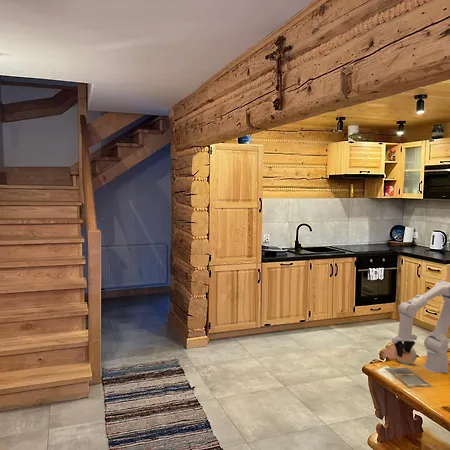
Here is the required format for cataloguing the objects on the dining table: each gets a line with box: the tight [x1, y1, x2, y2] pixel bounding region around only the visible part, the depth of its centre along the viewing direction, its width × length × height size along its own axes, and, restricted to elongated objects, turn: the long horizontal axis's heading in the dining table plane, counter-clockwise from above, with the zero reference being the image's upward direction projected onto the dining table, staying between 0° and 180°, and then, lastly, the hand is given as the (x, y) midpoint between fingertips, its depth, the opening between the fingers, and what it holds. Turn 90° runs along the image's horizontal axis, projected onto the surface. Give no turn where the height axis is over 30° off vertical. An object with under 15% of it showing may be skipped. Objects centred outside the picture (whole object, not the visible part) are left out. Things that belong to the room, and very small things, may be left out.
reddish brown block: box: [393, 349, 412, 362], centre depth 207 cm, size 7×4×3 cm, turn 26°
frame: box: [394, 373, 432, 388], centre depth 199 cm, size 11×11×1 cm
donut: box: [395, 347, 418, 366], centre depth 219 cm, size 10×4×10 cm, turn 66°
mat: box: [384, 367, 433, 389], centre depth 203 cm, size 12×20×1 cm, turn 9°
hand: (402, 355), depth 207 cm, fingers closed on reddish brown block, 4 cm apart
